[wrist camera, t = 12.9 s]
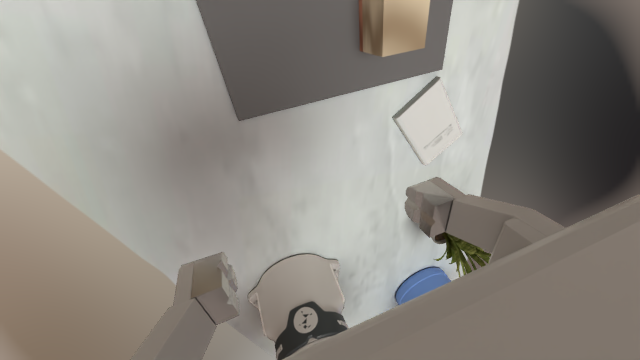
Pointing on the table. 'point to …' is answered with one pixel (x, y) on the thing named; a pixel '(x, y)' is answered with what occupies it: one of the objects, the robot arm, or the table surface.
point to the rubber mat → (307, 51)
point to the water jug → (421, 284)
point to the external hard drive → (429, 122)
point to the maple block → (392, 26)
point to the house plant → (457, 255)
